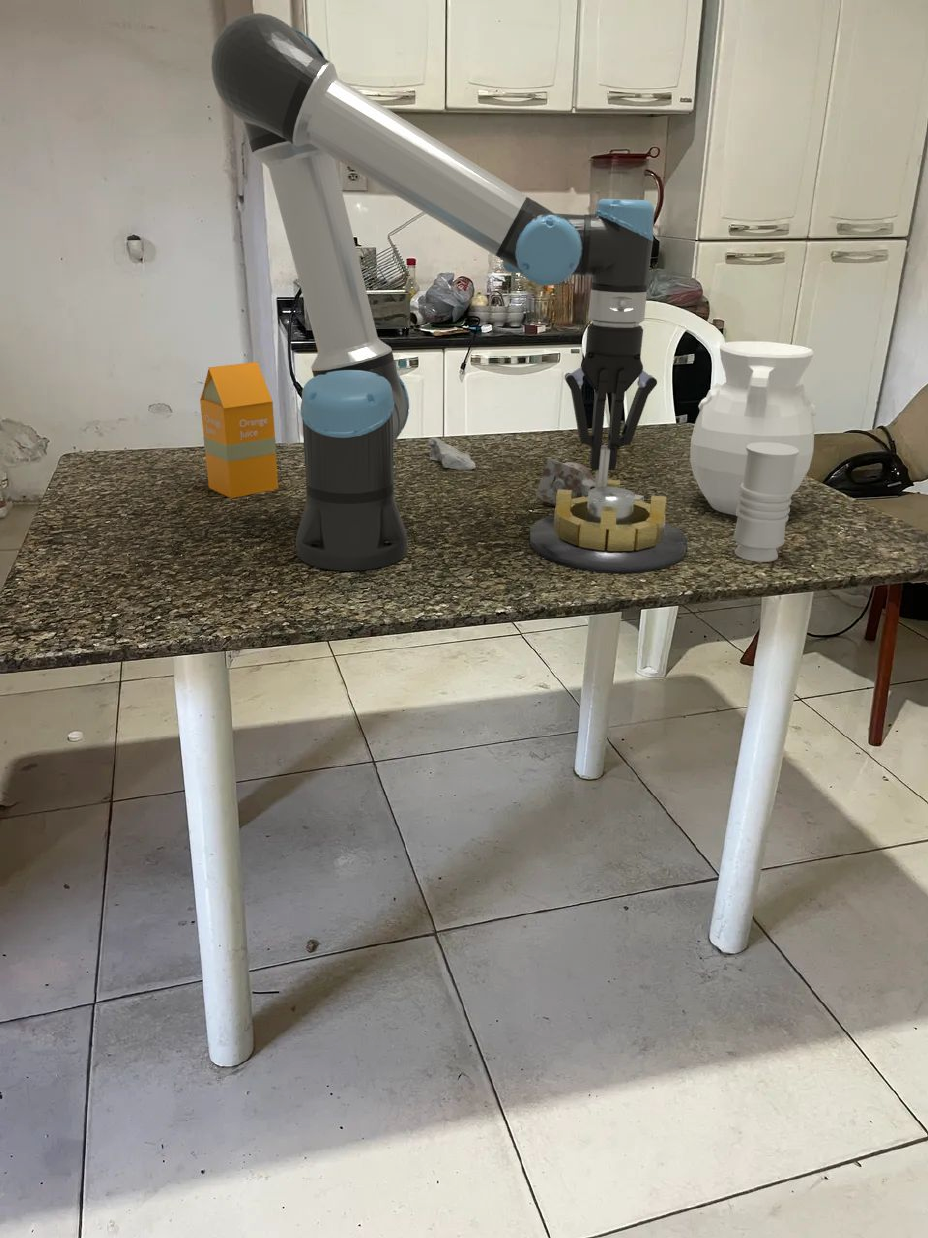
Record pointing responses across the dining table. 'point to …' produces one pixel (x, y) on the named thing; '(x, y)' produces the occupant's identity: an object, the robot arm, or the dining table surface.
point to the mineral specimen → (449, 455)
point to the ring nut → (609, 523)
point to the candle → (764, 500)
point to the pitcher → (751, 417)
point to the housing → (606, 561)
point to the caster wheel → (564, 480)
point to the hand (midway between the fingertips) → (600, 491)
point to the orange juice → (238, 431)
